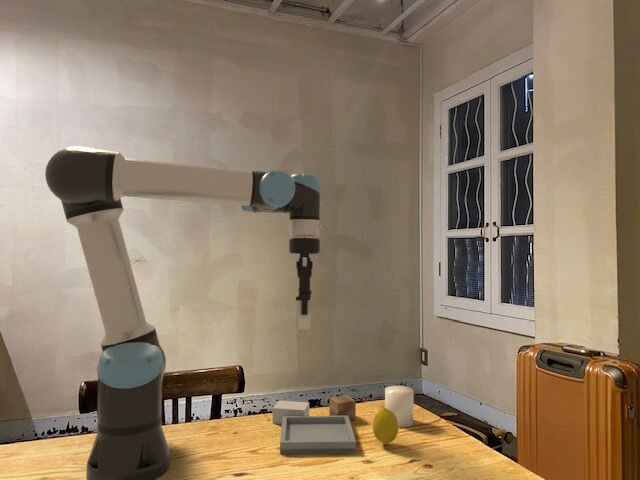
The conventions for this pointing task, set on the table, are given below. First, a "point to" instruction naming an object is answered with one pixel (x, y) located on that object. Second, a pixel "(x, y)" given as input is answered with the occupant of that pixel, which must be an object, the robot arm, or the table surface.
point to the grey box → (289, 410)
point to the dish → (317, 435)
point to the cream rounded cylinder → (400, 404)
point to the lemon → (385, 426)
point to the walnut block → (343, 407)
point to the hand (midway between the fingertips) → (303, 324)
